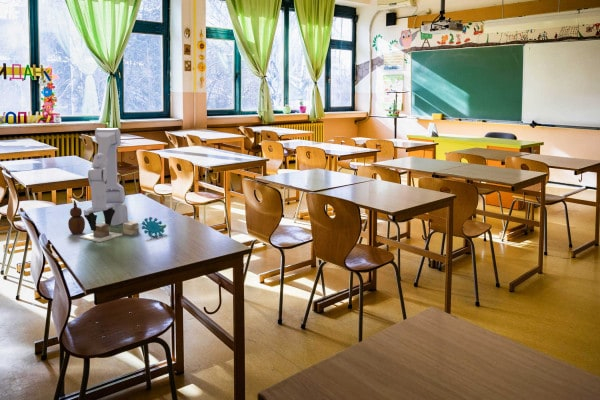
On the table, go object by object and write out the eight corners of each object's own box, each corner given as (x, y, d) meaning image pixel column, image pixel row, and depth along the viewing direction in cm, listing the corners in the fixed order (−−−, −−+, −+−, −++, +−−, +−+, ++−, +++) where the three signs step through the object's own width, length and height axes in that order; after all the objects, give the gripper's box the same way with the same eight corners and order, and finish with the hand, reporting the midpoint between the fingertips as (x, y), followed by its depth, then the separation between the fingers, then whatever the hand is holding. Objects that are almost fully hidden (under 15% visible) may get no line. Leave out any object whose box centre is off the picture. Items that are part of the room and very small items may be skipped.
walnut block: (102, 233, 237) (101, 222, 237) (109, 234, 235) (108, 224, 234) (93, 235, 234) (92, 225, 233) (100, 237, 231) (100, 226, 231)
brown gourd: (78, 235, 236) (76, 201, 233) (66, 234, 237) (64, 200, 234) (88, 231, 242) (85, 198, 239) (76, 230, 243) (73, 197, 240)
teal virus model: (145, 236, 230) (140, 216, 235) (140, 243, 234) (135, 223, 239) (170, 235, 237) (164, 216, 242) (164, 242, 241) (159, 223, 246)
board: (102, 231, 243) (102, 229, 242) (122, 235, 237) (122, 233, 237) (79, 237, 232) (79, 236, 232) (99, 242, 227) (99, 240, 226)
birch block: (131, 231, 244) (130, 221, 243) (138, 232, 242) (138, 222, 241) (123, 233, 240) (123, 223, 239) (131, 235, 238) (130, 224, 237)
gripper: (91, 200, 223) (93, 233, 226) (119, 194, 235) (120, 225, 238) (79, 198, 226) (81, 231, 229) (107, 193, 239) (109, 223, 241)
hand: (100, 228), depth 234 cm, fingers open, 7 cm apart
